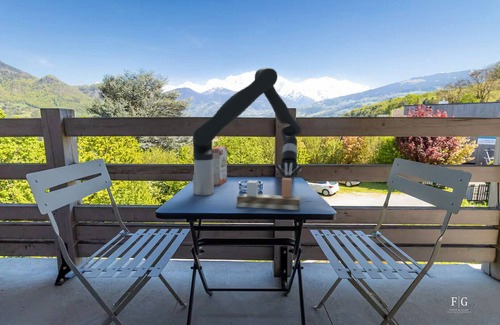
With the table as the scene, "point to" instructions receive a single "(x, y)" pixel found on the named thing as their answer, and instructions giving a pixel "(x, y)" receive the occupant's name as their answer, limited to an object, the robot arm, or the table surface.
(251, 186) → the white rectangular block
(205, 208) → the table surface
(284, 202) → the press stand
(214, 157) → the cracker box
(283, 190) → the terracotta plug
